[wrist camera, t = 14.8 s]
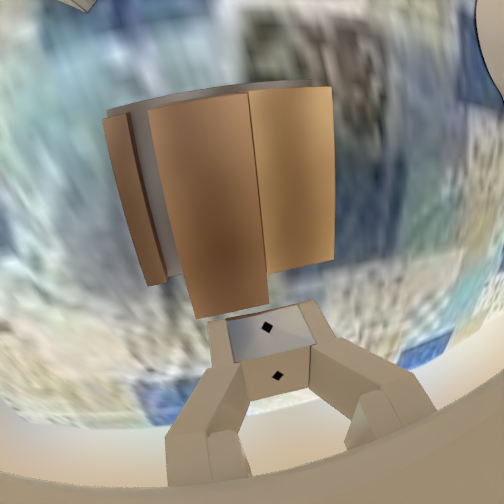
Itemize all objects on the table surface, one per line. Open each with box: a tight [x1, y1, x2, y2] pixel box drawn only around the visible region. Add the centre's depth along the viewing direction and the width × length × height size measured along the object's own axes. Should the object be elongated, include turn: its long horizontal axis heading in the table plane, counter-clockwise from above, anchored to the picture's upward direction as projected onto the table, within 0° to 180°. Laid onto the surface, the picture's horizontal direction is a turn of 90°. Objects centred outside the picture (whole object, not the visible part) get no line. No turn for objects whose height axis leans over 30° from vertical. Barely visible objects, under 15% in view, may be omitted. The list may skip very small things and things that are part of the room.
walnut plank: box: [148, 93, 269, 319], centre depth 18 cm, size 4×12×6 cm, turn 7°
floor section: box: [102, 79, 335, 286], centre depth 20 cm, size 14×13×4 cm
